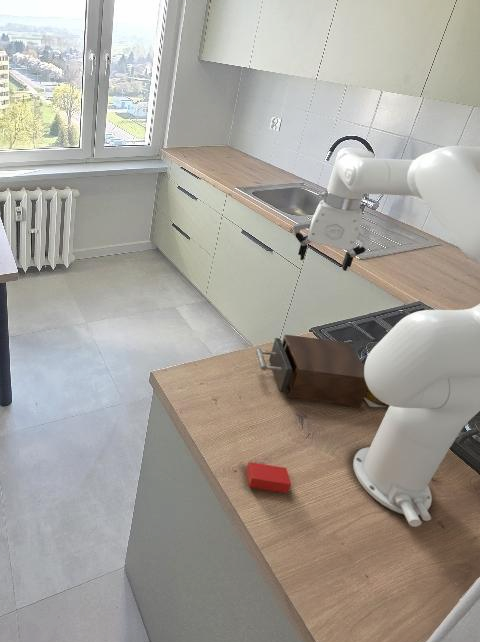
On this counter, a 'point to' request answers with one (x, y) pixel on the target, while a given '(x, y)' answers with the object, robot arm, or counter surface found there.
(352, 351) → the cabinet
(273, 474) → the red rectangular block
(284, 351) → the drawer
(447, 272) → the counter surface
